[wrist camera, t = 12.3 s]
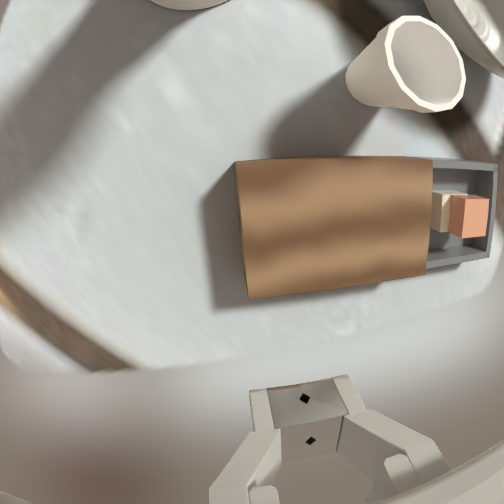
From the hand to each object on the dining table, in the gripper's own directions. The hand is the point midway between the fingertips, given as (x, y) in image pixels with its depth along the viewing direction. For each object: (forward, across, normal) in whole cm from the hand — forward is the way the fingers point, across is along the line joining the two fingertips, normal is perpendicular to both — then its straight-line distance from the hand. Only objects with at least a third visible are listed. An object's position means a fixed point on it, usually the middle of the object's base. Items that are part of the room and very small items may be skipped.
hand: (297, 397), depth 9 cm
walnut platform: (+29, -11, +2) cm, 31 cm away
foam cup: (+29, -17, -15) cm, 37 cm away
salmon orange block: (+25, -29, +2) cm, 39 cm away
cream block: (+25, -28, +2) cm, 38 cm away
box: (+29, -29, +2) cm, 41 cm away
